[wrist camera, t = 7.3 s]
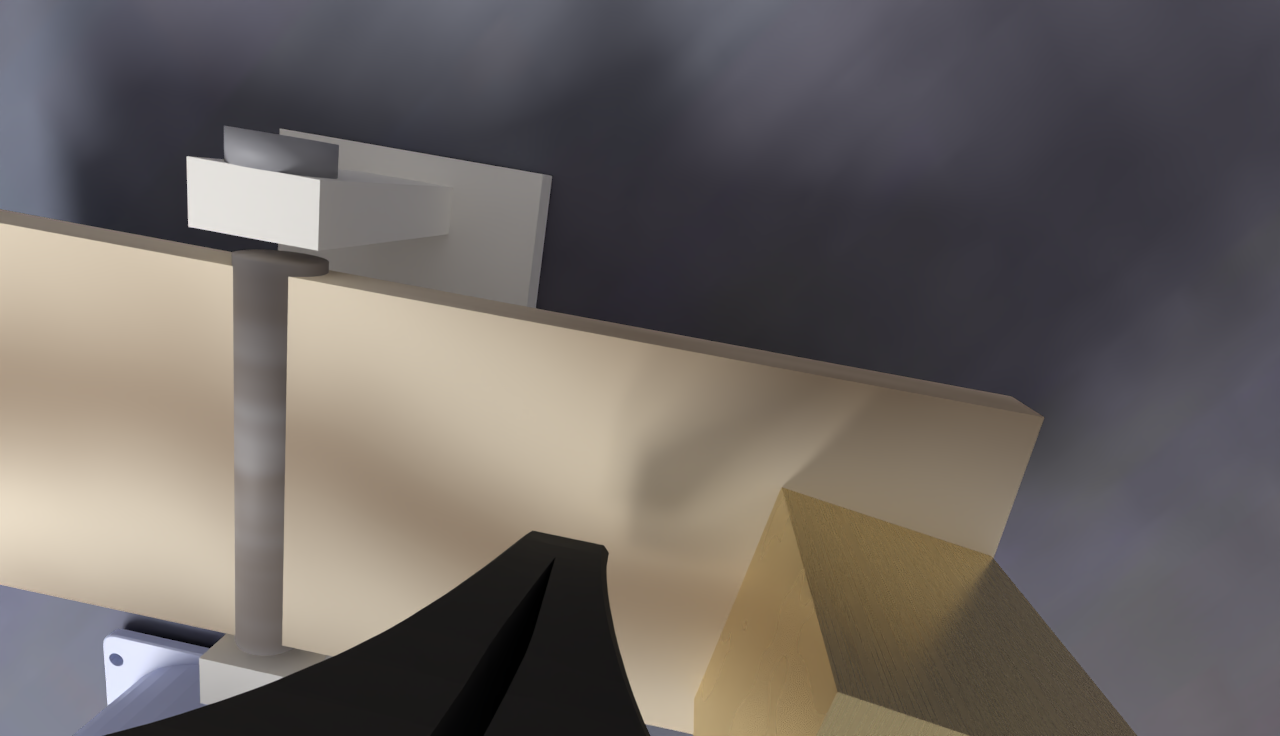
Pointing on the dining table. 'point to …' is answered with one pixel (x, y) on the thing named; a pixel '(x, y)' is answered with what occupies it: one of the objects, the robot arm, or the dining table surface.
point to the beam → (427, 448)
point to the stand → (366, 253)
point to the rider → (887, 641)
